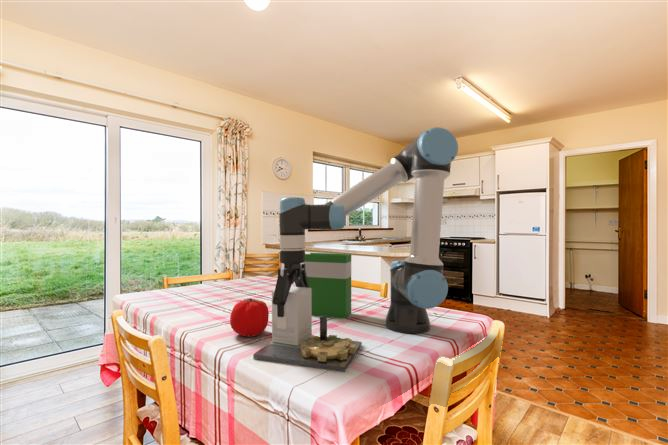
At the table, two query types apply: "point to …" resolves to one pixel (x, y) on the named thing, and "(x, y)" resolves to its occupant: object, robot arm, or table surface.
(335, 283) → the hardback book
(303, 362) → the plate
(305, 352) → the sprocket
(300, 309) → the supplement box
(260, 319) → the tomato
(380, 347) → the table surface
